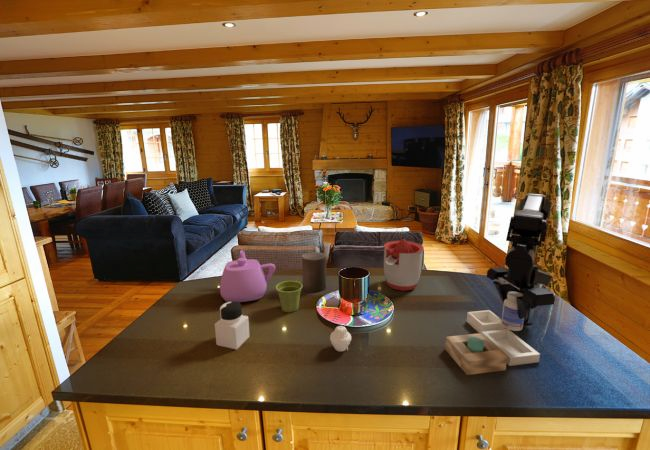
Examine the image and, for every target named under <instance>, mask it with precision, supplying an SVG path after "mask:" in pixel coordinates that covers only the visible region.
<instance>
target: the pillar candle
mask: <svg viewBox="0 0 650 450" xmlns="http://www.w3.org/2000/svg"><path fill="white" fill-rule="evenodd" d="M301 258H302V259H301V265H302V267H301V268H302V269H301V272H302V274H301V275H302V288H303V290H304V291H305V292H306V291H307V292H311V293H318V292H322V291H325V290H326V289H327V255H326V254H325V253H323V252H318V251H317V252H316V251H312V252H311V251H310V252H306V253H303V254H301Z"/></svg>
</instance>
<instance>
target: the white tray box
mask: <svg viewBox="0 0 650 450" xmlns="http://www.w3.org/2000/svg"><path fill="white" fill-rule="evenodd" d="M501 320H502V318H501V317H499V316H498V315H496V314H495V313H494V312H493V311H491V310H490V309H486V310H476V311H468V312H467V315H466V323H467V324H469V326H471V327H472V328H473V329H474V330H475V331H476V332H477V333H481V332H484V331H493V330H502V329H506V328H505V327H503V326H502V324H501Z"/></svg>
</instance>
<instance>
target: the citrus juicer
mask: <svg viewBox="0 0 650 450" xmlns="http://www.w3.org/2000/svg"><path fill="white" fill-rule="evenodd" d="M383 248H384V249H383V251H384V252H383V274H384V278H385V282H386V284H387V286H388V287H389V288H391V289H394V290H397V291H402V292H406V291H411V290H414V289H415V288H416V287H417V286H418V283H419V280H420V277H421V274H422V273H421V272H422V266H423V253H424V252H423V251H424V246H423V245H422V244H420V243H417V242H415V241H408V240H407V239H404V238H403V239H401V240H393V241H387V242H386V243H384V245H383Z"/></svg>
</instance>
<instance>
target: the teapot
mask: <svg viewBox="0 0 650 450" xmlns="http://www.w3.org/2000/svg"><path fill="white" fill-rule="evenodd" d="M223 268H224V269H223V271H222V274H221V278H220V284H219V285H220V286H219V293H220V296H221V298H222V299H223V300H224V302H226V303H227V302H238V303H242V302H243V303H245V302H251V301H256V300H259V299H262V298H263V297H264V296H265V294H266V292H267V288H268V287H267V286H268V285H267V283H268V282H269V280H270V279H271V277H272V276H273V275H274V273H275V270H276V265H275V264H274V263H271V262H270V263H264V264H260V262H259V260H257V259H253V258H252V259H249V258H248V259H247V257H246V253H245V250H243V249H241V250H240V251H239V257H238V258H237V259H236V260H230V261H228V262H227V263H225V266H224V267H223ZM263 269H269V270H268V273H267V275H265V272H264V270H263Z"/></svg>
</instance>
